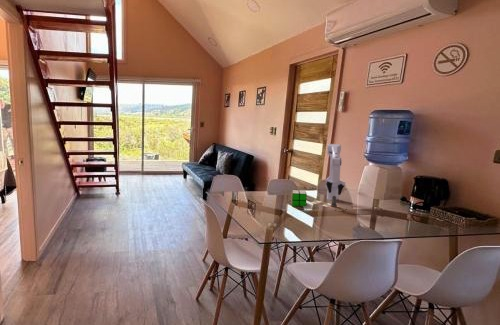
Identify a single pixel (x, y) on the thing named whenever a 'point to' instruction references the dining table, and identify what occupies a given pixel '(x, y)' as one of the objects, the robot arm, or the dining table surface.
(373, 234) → the dining table surface
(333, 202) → the pawn
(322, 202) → the board
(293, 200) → the puzzle cube
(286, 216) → the dining table surface
